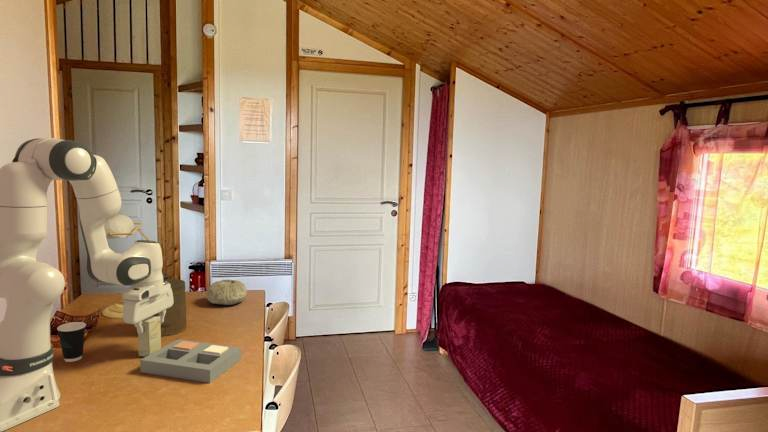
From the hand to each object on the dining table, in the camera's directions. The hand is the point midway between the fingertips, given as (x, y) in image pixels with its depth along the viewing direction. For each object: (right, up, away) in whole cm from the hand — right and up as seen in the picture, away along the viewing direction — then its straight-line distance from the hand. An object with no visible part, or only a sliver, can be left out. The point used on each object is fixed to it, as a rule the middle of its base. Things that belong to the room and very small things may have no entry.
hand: (150, 327), depth 164 cm
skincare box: (-1, -9, +1) cm, 9 cm away
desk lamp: (-29, -3, +44) cm, 53 cm away
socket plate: (+17, -10, -8) cm, 21 cm away
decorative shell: (+7, -2, +59) cm, 59 cm away
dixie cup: (-22, -9, -6) cm, 25 cm away
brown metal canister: (-5, -6, +23) cm, 25 cm away
